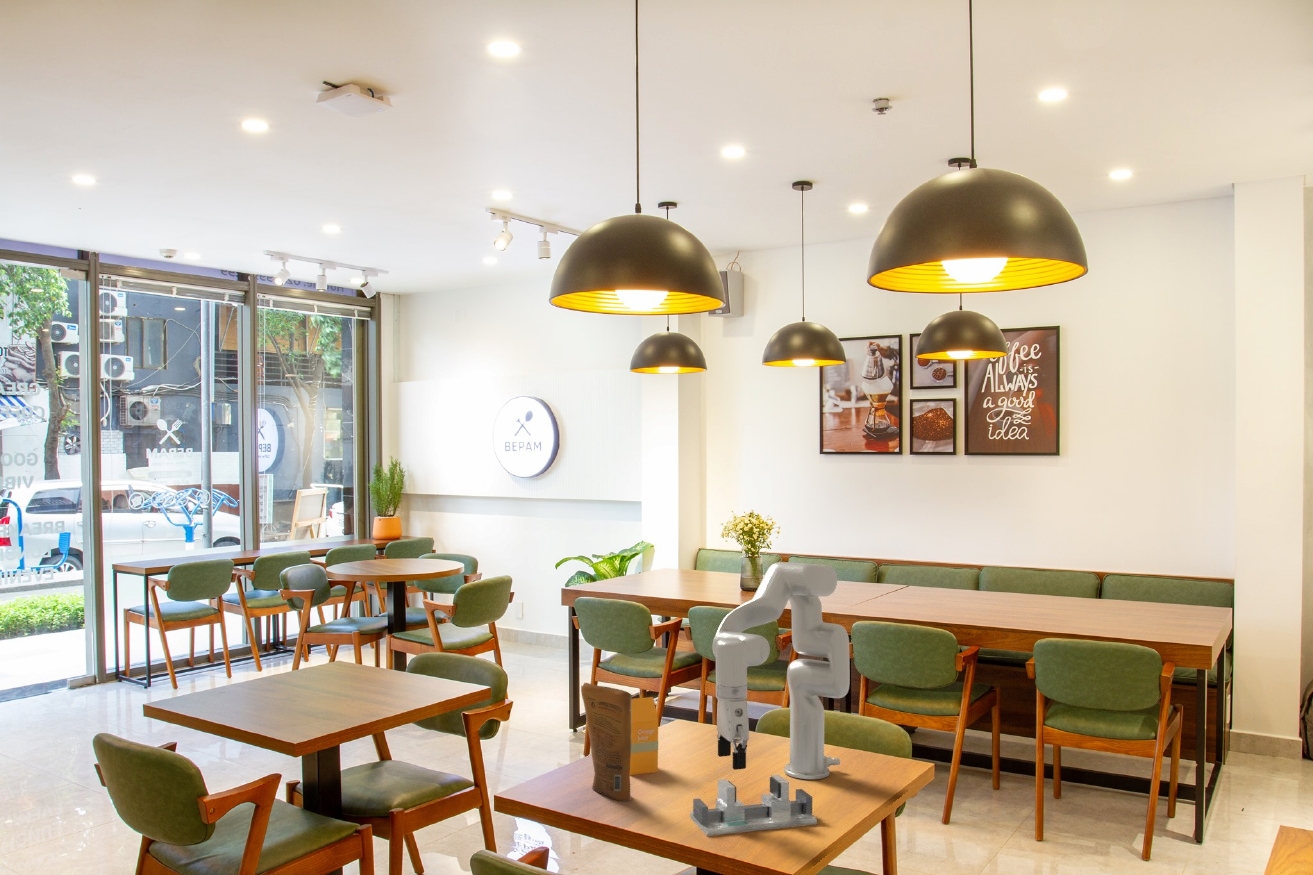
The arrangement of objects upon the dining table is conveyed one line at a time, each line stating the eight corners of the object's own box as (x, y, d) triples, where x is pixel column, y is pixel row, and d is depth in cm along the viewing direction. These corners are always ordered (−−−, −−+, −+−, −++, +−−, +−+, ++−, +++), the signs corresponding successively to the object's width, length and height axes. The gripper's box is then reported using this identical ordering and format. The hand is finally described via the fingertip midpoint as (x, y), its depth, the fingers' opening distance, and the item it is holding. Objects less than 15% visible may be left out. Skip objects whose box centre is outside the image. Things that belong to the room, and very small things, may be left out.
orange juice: (618, 767, 267) (619, 696, 268) (647, 763, 270) (648, 693, 271) (628, 775, 260) (630, 702, 260) (658, 771, 263) (659, 699, 264)
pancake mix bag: (620, 806, 235) (621, 693, 236) (577, 786, 250) (578, 680, 251) (641, 800, 240) (642, 690, 241) (597, 781, 254) (599, 677, 255)
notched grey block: (735, 811, 229) (735, 778, 229) (744, 820, 223) (744, 786, 223) (715, 813, 227) (716, 780, 227) (724, 822, 221) (725, 788, 222)
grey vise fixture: (796, 806, 236) (796, 768, 237) (817, 824, 225) (818, 784, 225) (688, 817, 228) (689, 778, 229) (705, 836, 217) (706, 794, 217)
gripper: (760, 698, 219) (760, 772, 219) (732, 681, 236) (732, 749, 235) (730, 701, 217) (730, 775, 217) (704, 683, 233) (704, 752, 233)
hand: (731, 762), depth 226 cm, fingers open, 9 cm apart
